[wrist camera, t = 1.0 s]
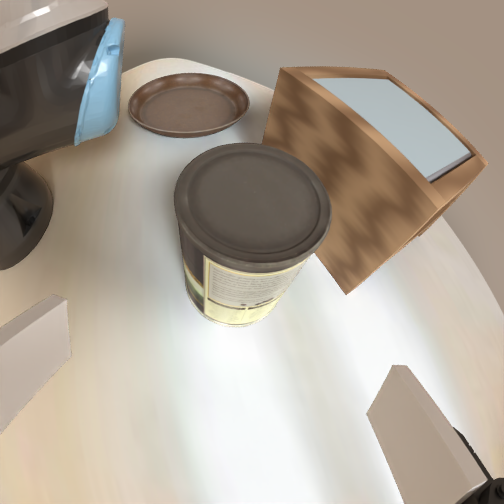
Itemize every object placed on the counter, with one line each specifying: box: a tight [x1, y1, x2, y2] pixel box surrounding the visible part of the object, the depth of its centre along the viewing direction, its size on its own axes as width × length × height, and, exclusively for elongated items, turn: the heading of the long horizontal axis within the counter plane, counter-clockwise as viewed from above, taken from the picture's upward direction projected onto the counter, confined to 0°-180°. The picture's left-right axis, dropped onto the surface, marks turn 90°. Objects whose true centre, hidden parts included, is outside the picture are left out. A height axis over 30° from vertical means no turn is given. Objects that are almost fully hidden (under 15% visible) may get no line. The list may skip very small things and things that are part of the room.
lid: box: [313, 78, 471, 184], centre depth 24 cm, size 15×15×1 cm
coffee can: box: [174, 143, 332, 327], centre depth 24 cm, size 10×10×14 cm
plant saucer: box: [128, 73, 250, 138], centre depth 43 cm, size 21×21×3 cm
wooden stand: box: [262, 67, 488, 295], centre depth 31 cm, size 20×20×16 cm
